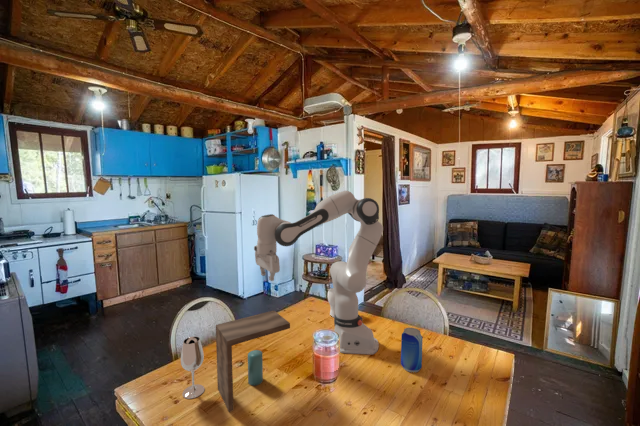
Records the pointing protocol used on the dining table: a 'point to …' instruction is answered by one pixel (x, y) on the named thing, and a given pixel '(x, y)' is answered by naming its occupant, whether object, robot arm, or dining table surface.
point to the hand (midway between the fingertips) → (267, 277)
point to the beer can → (411, 350)
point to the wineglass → (192, 364)
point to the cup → (331, 301)
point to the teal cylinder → (255, 367)
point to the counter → (237, 334)
